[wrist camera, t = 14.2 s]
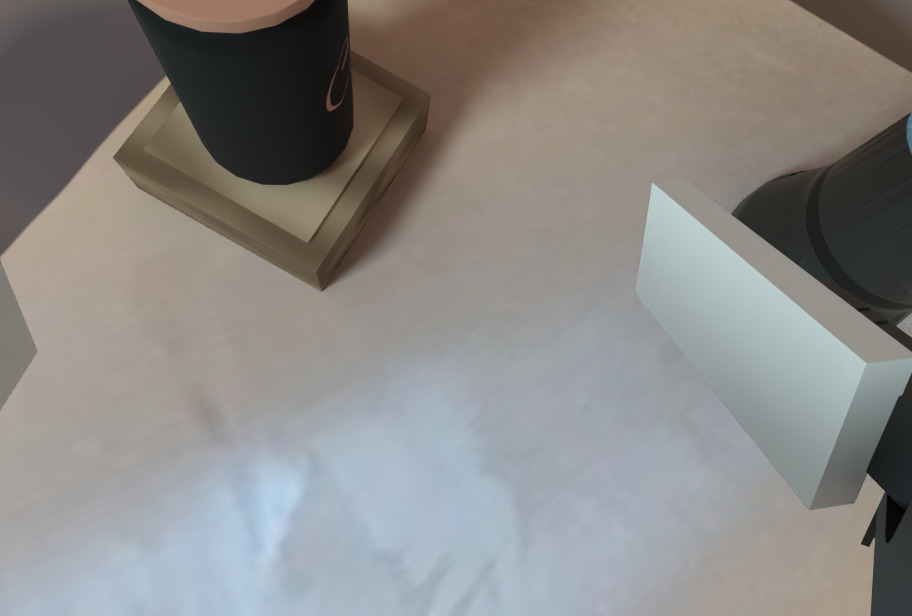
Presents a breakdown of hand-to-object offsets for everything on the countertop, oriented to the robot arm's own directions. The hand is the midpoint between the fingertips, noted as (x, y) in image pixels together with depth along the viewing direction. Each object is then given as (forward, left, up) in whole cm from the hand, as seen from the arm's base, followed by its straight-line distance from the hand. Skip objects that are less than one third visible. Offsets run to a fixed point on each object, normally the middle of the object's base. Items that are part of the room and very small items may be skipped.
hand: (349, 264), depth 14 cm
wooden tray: (-14, -16, -36) cm, 41 cm away
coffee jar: (-14, -16, -31) cm, 37 cm away
